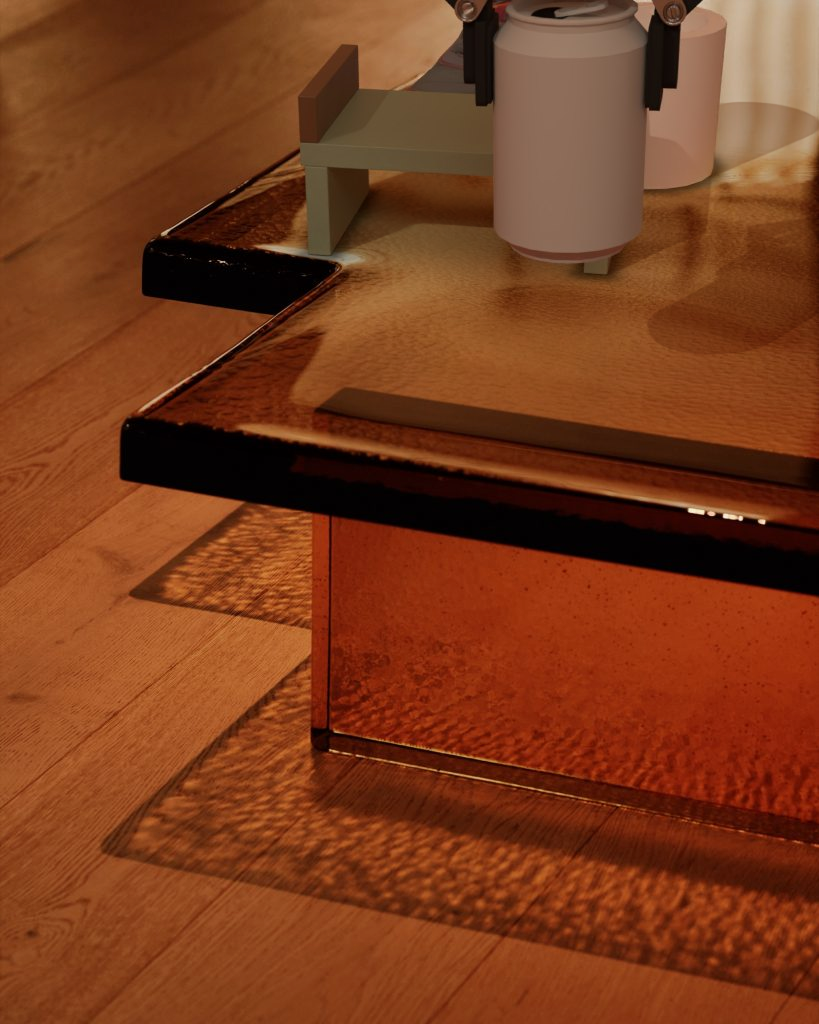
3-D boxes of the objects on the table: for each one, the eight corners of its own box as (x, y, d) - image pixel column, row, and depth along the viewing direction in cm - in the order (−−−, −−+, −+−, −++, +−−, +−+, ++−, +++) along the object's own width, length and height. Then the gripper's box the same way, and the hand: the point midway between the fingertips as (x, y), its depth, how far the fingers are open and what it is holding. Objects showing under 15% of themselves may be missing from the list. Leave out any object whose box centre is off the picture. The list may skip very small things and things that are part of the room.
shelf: (626, 208, 112) (635, 57, 106) (611, 275, 101) (621, 112, 96) (345, 191, 115) (341, 43, 109) (304, 254, 105) (297, 95, 99)
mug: (676, 213, 111) (689, 58, 105) (538, 192, 114) (543, 42, 109) (729, 153, 121) (743, 10, 116) (600, 136, 125) (608, -4, 119)
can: (511, 212, 85) (511, -20, 79) (652, 221, 84) (663, -16, 78) (478, 264, 79) (475, 17, 73) (629, 275, 77) (638, 22, 71)
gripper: (361, -296, 67) (378, 119, 76) (786, -304, 64) (752, 129, 73) (397, -309, 74) (408, 75, 83) (785, -317, 70) (753, 83, 79)
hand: (570, 98), depth 78 cm, fingers closed on can, 7 cm apart
